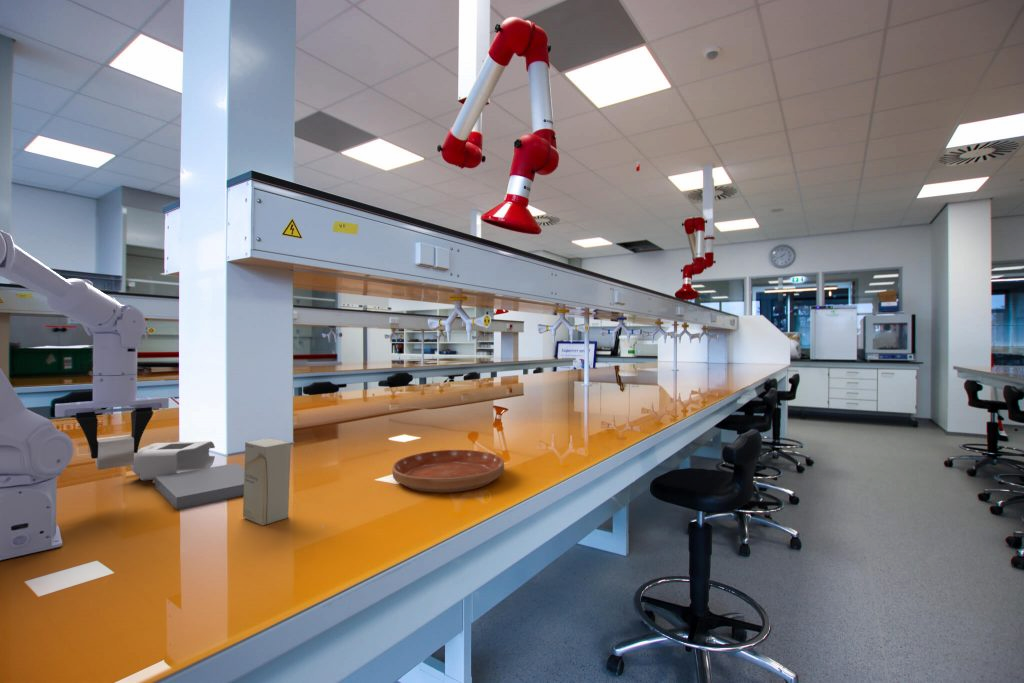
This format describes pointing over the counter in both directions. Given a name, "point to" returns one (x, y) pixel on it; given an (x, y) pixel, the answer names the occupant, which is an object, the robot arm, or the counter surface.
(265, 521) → the skincare box
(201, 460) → the cable organizer
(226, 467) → the base plate
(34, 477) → the robot arm
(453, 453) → the saucer
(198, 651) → the counter surface
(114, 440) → the ash cube
